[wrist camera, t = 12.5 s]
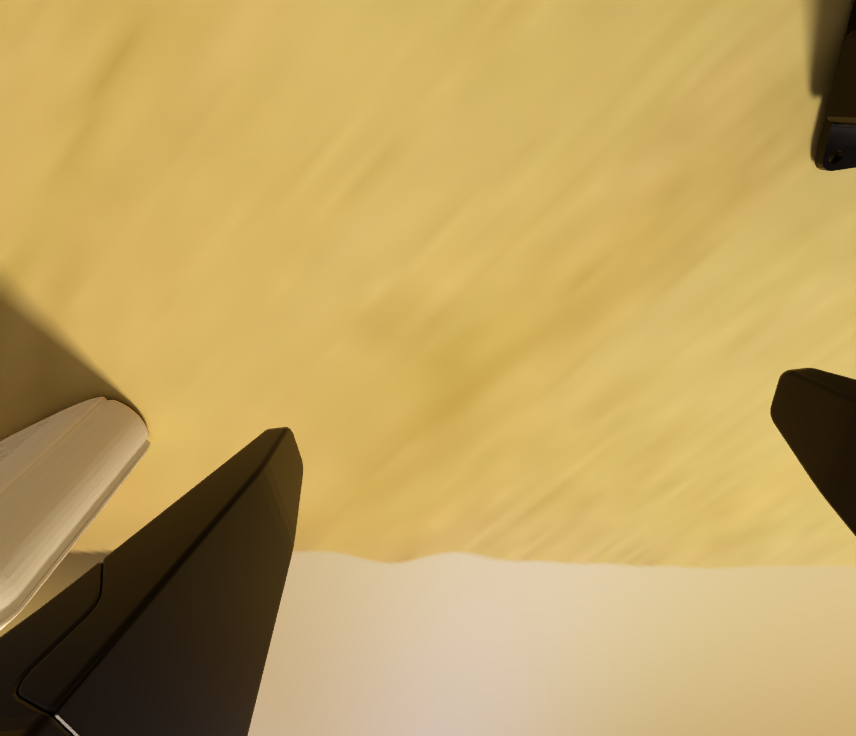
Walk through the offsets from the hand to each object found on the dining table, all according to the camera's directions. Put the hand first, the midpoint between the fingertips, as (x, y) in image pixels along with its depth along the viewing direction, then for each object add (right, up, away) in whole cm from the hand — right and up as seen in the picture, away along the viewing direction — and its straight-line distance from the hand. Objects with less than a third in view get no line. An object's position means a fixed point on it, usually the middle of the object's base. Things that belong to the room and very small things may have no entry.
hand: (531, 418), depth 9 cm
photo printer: (-22, -3, +17) cm, 28 cm away
